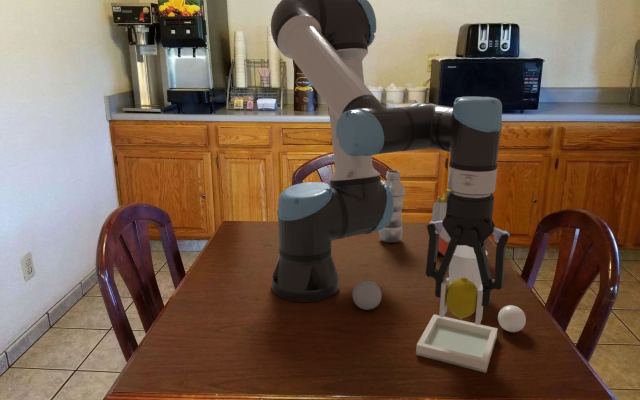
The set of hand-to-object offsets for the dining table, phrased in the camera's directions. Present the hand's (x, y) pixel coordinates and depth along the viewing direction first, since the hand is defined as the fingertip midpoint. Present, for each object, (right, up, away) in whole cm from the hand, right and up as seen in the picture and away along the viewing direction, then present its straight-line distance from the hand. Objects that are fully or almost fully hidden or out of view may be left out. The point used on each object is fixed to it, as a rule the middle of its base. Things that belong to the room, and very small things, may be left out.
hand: (460, 317), depth 91 cm
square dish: (0, -6, +2) cm, 6 cm away
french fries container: (+9, +7, +44) cm, 46 cm away
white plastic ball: (+11, -4, +7) cm, 14 cm away
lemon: (0, 0, 0) cm, 1 cm away
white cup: (+7, 0, +22) cm, 23 cm away
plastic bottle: (-5, +9, +52) cm, 54 cm away
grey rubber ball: (-15, -2, +15) cm, 22 cm away
